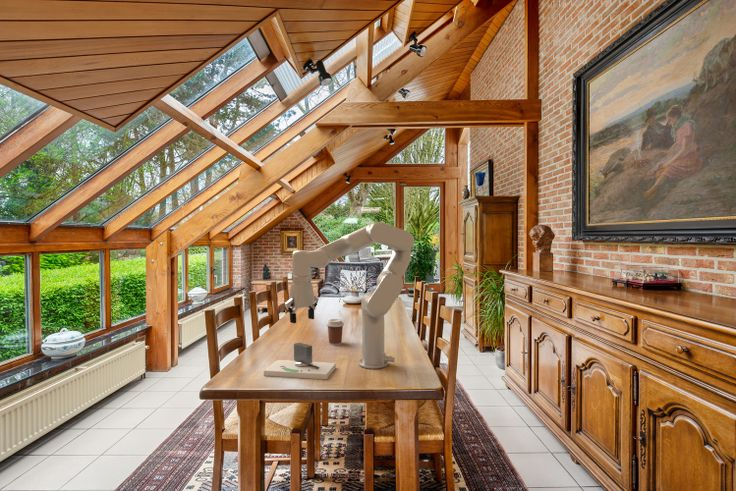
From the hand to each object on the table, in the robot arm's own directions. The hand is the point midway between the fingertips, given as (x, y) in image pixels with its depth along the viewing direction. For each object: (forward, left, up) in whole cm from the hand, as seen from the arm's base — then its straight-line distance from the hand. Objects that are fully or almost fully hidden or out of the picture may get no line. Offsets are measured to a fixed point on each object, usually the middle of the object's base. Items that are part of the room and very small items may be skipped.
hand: (302, 320), depth 169 cm
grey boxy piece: (-3, +2, -18) cm, 18 cm away
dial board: (0, +3, -20) cm, 20 cm away
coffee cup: (-3, -41, -21) cm, 46 cm away
